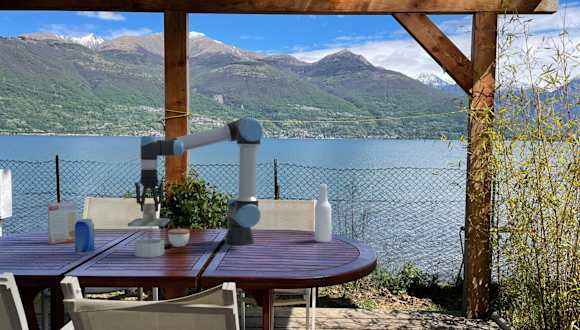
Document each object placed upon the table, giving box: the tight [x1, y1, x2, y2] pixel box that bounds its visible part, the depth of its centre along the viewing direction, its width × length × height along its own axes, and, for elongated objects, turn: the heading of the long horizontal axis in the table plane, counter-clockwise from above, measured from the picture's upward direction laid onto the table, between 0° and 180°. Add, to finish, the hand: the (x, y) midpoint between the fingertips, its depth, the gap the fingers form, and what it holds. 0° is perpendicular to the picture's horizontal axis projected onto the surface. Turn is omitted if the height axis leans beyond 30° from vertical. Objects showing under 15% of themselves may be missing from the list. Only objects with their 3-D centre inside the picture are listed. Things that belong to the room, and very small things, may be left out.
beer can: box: [74, 218, 95, 256], centre depth 254 cm, size 8×8×16 cm
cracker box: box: [46, 201, 79, 245], centre depth 281 cm, size 14×6×21 cm, turn 123°
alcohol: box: [314, 183, 332, 243], centre depth 284 cm, size 9×9×30 cm
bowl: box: [134, 238, 165, 258], centre depth 253 cm, size 13×13×6 cm
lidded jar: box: [167, 226, 191, 248], centre depth 273 cm, size 11×11×9 cm
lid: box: [127, 202, 171, 227], centre depth 252 cm, size 16×16×9 cm
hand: (149, 218), depth 252 cm, fingers closed on lid, 4 cm apart
